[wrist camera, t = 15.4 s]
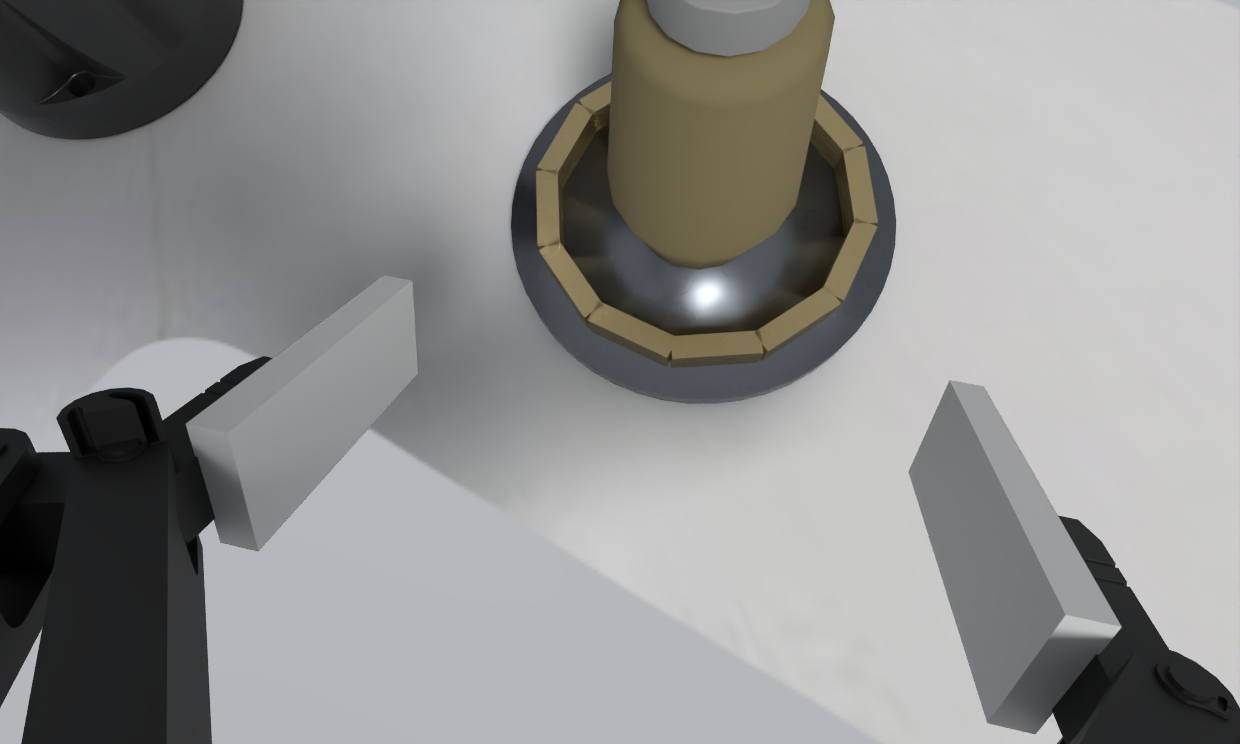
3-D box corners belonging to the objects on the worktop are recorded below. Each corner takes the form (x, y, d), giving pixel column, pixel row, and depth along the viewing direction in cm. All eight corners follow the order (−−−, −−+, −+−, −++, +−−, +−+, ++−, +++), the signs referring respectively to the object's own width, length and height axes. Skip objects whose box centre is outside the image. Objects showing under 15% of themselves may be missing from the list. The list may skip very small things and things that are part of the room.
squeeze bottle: (743, 116, 32) (849, -403, 14) (814, 257, 30) (1040, -152, 12) (588, 172, 31) (506, -291, 14) (649, 319, 29) (641, -12, 12)
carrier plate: (448, 303, 31) (430, 282, 29) (618, 20, 35) (615, -19, 32) (798, 472, 28) (811, 466, 26) (943, 144, 32) (967, 111, 29)
